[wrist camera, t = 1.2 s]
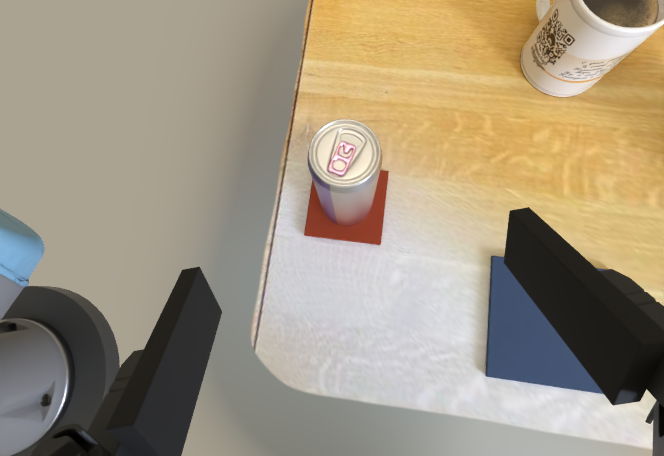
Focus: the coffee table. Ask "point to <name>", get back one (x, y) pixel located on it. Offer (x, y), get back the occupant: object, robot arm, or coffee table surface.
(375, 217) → the terracotta mat
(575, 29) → the mug
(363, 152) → the beverage can
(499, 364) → the slate-blue mat
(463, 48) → the coffee table surface
